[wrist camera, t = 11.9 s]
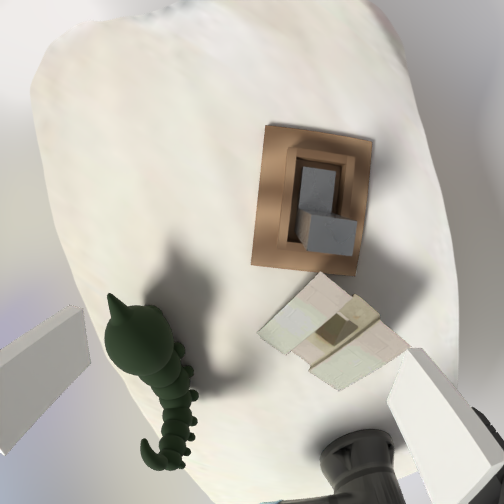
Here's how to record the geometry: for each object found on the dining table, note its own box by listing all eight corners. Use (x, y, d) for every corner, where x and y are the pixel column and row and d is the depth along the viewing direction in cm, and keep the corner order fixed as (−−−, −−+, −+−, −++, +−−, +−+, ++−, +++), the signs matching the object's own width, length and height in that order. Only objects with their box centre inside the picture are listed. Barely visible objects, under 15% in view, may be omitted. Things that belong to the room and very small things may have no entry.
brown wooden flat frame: (353, 274, 38) (361, 283, 35) (251, 263, 39) (249, 271, 35) (369, 143, 35) (380, 138, 31) (265, 127, 35) (264, 119, 32)
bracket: (324, 234, 37) (352, 256, 24) (294, 230, 37) (306, 250, 24) (332, 172, 35) (364, 162, 22) (301, 167, 35) (317, 154, 23)
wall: (359, 351, 45) (424, 318, 33) (339, 394, 40) (410, 373, 28) (284, 293, 47) (333, 241, 35) (255, 333, 41) (303, 291, 29)
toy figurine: (219, 396, 46) (162, 262, 39) (202, 487, 28) (95, 334, 21) (170, 400, 47) (109, 277, 40) (141, 483, 29) (32, 342, 22)
